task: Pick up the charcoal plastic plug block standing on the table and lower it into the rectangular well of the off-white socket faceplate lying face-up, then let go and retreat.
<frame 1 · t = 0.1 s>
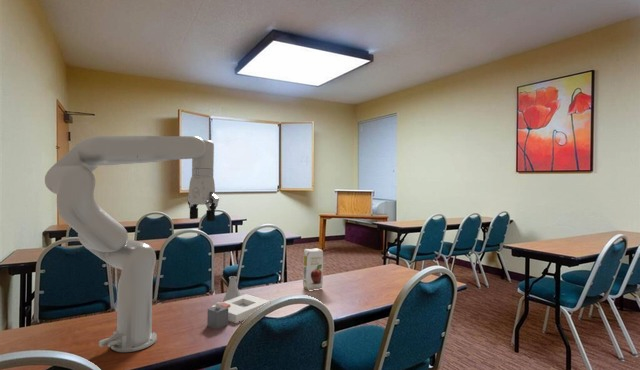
hand: (202, 219, 125), 37 cm above the table, tool pointing down, fingers open, 9 cm apart
socket plate: (241, 311, 133), on the table
plug: (217, 325, 120), on the table
juice carton: (312, 289, 163), on the table
flask: (232, 300, 145), on the table
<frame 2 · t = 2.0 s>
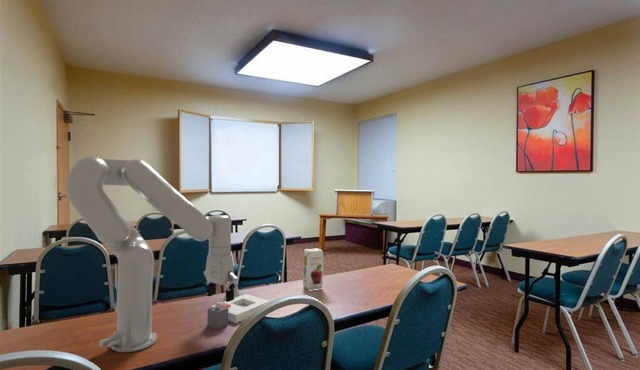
hand: (220, 297, 120), 10 cm above the table, tool pointing down, fingers open, 9 cm apart
nothing on the table moved.
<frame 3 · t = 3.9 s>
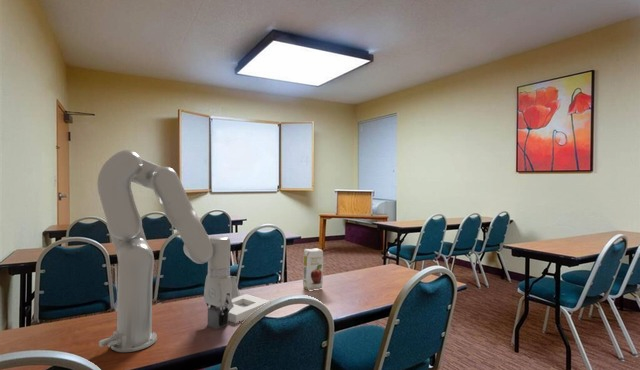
hand: (217, 322, 120), 1 cm above the table, tool pointing down, fingers closed on plug, 5 cm apart
plug: (217, 325, 120), on the table, touching gripper
everything else where it was.
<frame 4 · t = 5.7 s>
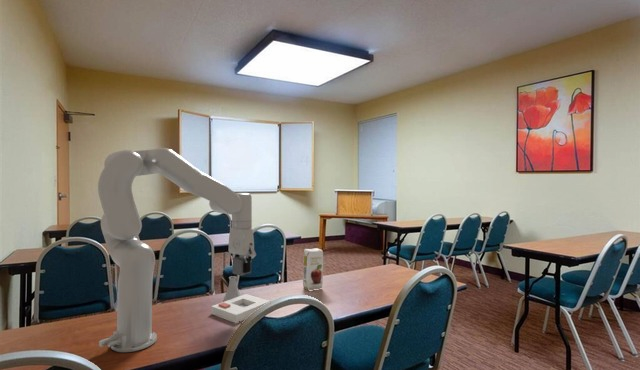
hand: (241, 270, 132), 16 cm above the table, tool pointing down, fingers closed on plug, 5 cm apart
plug: (241, 273, 132), point 15 cm above the table, touching gripper
everything else where it was.
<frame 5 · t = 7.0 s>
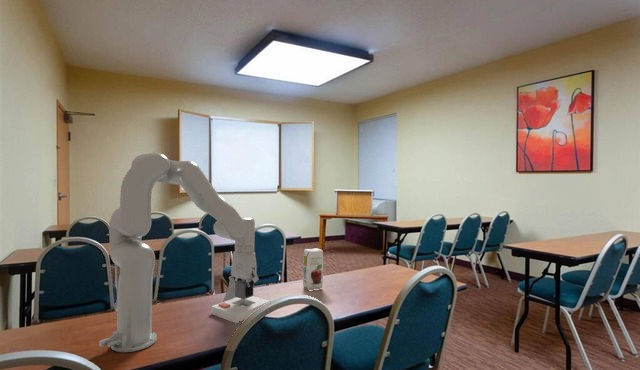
hand: (244, 294, 134), 6 cm above the table, tool pointing down, fingers closed on plug, 5 cm apart
plug: (244, 296, 134), point 6 cm above the table, touching gripper
everything else where it was.
when the fingers open (4 cm above the table, at t = 7.9 s): plug drops 2 cm, resting on socket plate.
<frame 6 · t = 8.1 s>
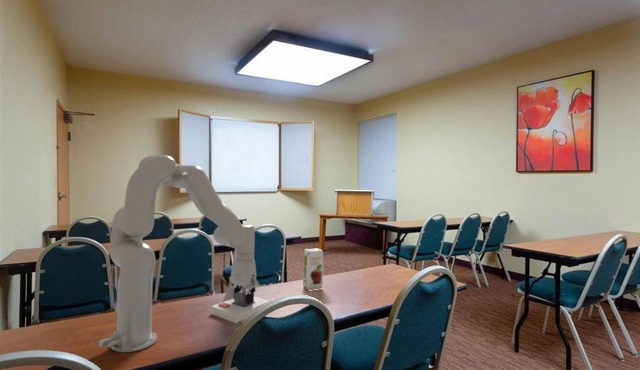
hand: (243, 300, 134), 4 cm above the table, tool pointing down, fingers open, 6 cm apart
plug: (243, 307, 134), point 1 cm above the table, touching socket plate
everything else where it was.
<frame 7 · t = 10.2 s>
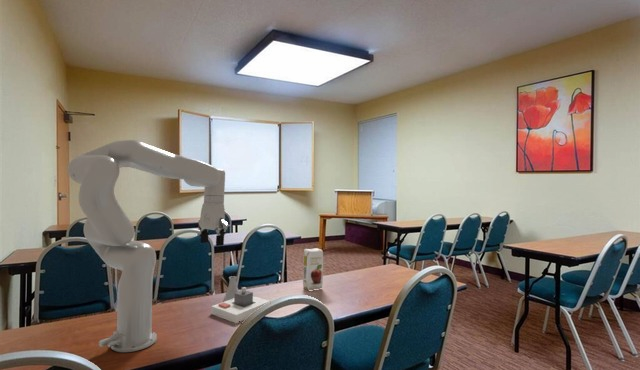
hand: (211, 244, 132), 26 cm above the table, tool pointing down, fingers open, 9 cm apart
nothing on the table moved.
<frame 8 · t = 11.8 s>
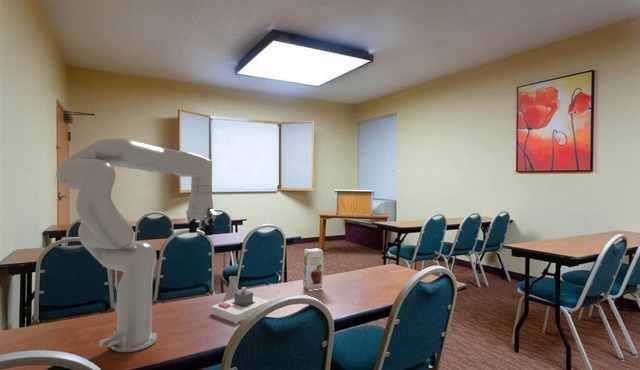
hand: (200, 233, 132), 30 cm above the table, tool pointing down, fingers open, 9 cm apart
nothing on the table moved.
at the end: plug 0.0 cm from the target spot on the socket plate, point 1.0 cm above the socket plate's base; plug tilted 0°; the gripper is holding nothing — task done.
